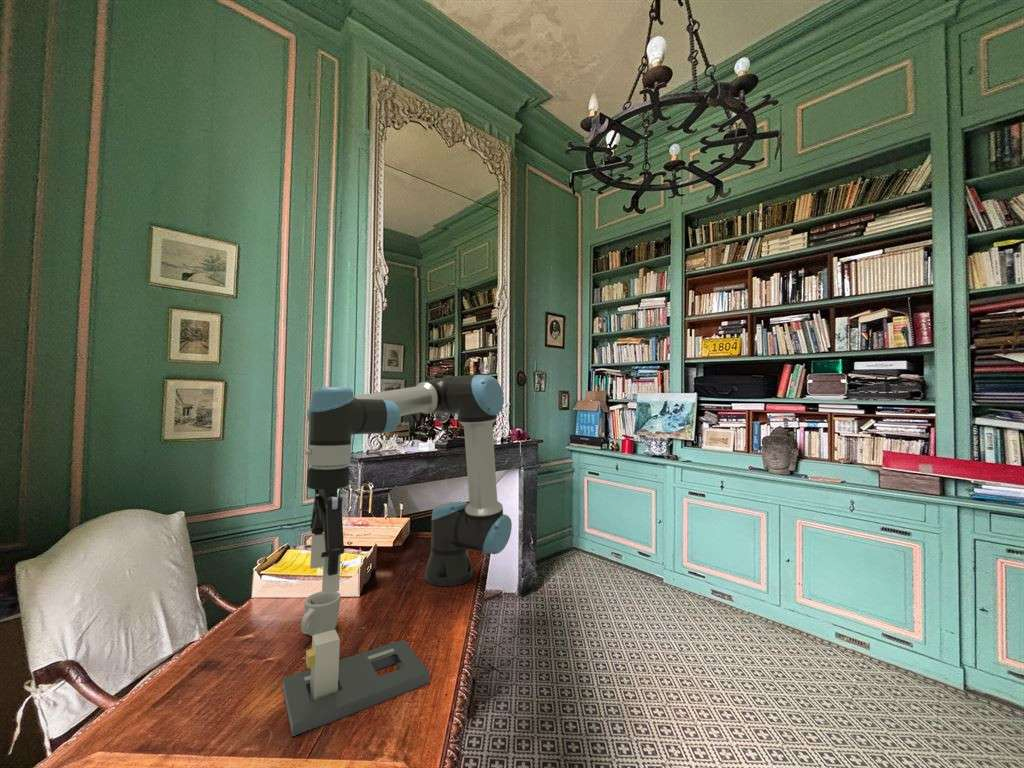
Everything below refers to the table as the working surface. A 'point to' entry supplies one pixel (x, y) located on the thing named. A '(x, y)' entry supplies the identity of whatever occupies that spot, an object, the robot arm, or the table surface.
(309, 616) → the cup
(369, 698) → the panel
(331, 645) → the plug
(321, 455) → the robot arm
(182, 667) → the table surface
